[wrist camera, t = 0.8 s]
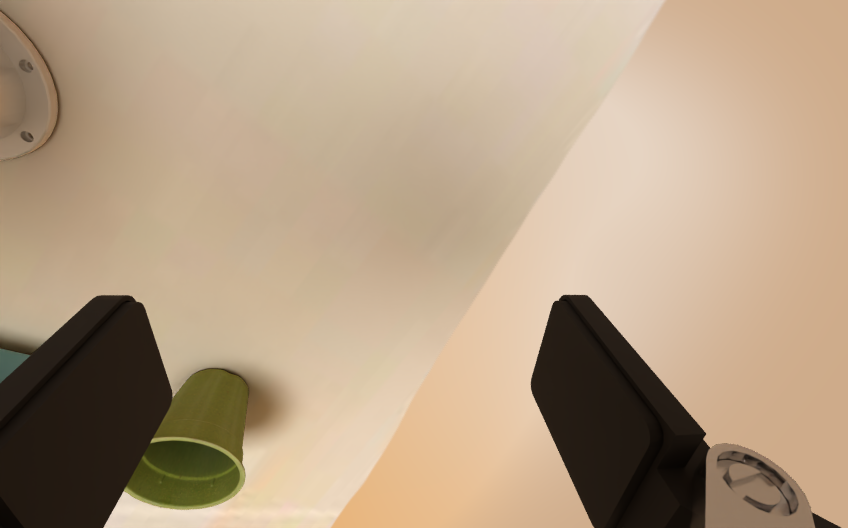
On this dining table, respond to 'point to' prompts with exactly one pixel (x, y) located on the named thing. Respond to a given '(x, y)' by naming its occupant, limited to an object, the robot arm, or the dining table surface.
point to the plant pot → (196, 446)
